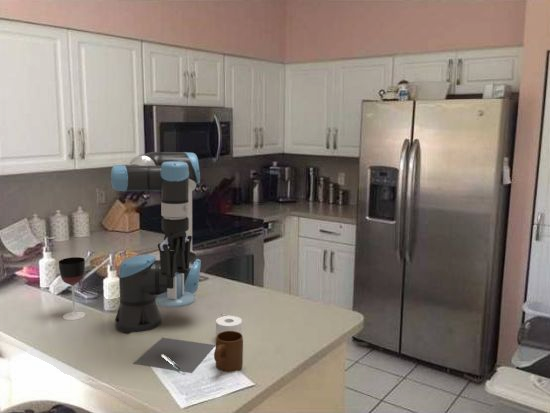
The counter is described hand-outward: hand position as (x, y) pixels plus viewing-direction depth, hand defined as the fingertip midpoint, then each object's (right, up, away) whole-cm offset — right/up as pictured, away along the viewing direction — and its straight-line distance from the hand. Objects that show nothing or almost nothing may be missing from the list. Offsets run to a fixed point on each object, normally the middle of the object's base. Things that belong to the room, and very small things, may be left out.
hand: (175, 296), depth 144 cm
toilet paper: (+14, -17, +16) cm, 27 cm away
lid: (0, -1, 0) cm, 1 cm away
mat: (-1, -18, +3) cm, 18 cm away
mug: (+15, -20, -5) cm, 26 cm away
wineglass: (-42, -13, +31) cm, 53 cm away
